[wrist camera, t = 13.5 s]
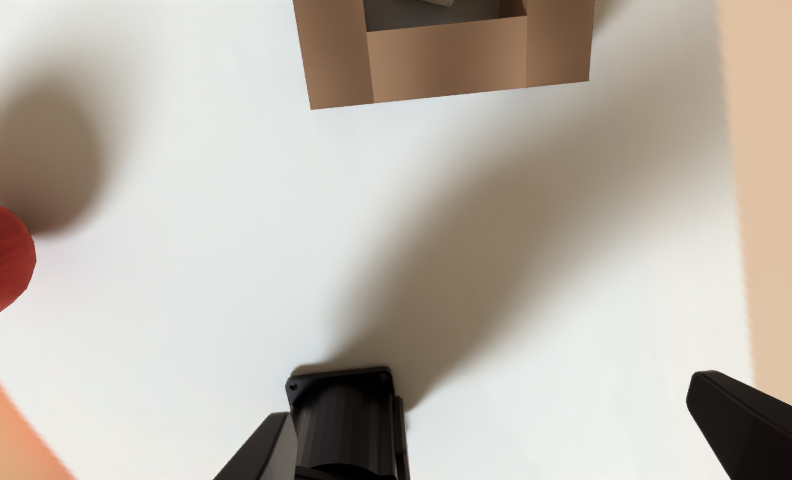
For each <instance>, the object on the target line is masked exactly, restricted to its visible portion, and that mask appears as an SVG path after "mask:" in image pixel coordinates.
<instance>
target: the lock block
mask: <svg viewBox="0 0 792 480" xmlns="http://www.w3.org/2000/svg"><path fill="white" fill-rule="evenodd" d="M594 2H595V0H500V19H491V20H481V21H471V22H461V23H451V24H442V25H432V26H422V27H412V28H403V29H393V30H383V31H373V32H367V25H366V16H365V7H364V0H293V5H294V11H295V17H296V23H297V29H298V35H299V41H300V47H301V53H302V59H303V65H304V71H305V77H306V83H307V90H308V96H309V102H310V108H311V110H314V109H324V108H333V107H343V106H353V105H362V104H372V103H382V102H391V101H401V100H411V99H420V98H430V97H440V96H449V95H459V94H469V93H478V92H488V91H498V90H507V89H517V88H527V87H536V86H546V85H556V84H565V83H575V82H585V81H589V69H590V55H591V42H592V29H593V15H594Z"/></svg>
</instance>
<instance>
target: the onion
mask: <svg viewBox="0 0 792 480" xmlns="http://www.w3.org/2000/svg"><path fill="white" fill-rule="evenodd" d="M35 264H36V253H35V245H34V241H33V239H32V238H31V236H30V234H29V232H28V229H27V227H26V225H25V224H24V223H23V222H22V221H21V220H20V219H19V218H18V217H17V216H16V215H15V214H14V213H12V212H11V211H9V210H7V209H6V208H4V207H2V206H0V312H1V311H2V310H4V309H5V308H6V307H8V306H9V305H10V304H12V303H13V302H14V301H15V300H16V299H17V298H18V297H19V296H20V295H21V294H22V293H23V292H24V291H25V290H26V289H27V287H28V284H29V282H30V280H31V277H32V274H33V271H34V267H35Z"/></svg>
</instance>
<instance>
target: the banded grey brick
mask: <svg viewBox="0 0 792 480" xmlns="http://www.w3.org/2000/svg"><path fill="white" fill-rule="evenodd" d="M422 1H427V2H431V3H435V4H440V5H444V6H448V7H449V6H450V5H451V4H452V2H453V1H454V0H422Z"/></svg>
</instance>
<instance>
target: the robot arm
mask: <svg viewBox="0 0 792 480" xmlns="http://www.w3.org/2000/svg"><path fill="white" fill-rule="evenodd" d="M382 374H386V375H387V376H381V375H382ZM291 384H296V385H297V386H293V385H291ZM285 389H286V393H287V397H288V401H289V405H290V412H276V413H271V414H270V415H269V416H268V417H267V418H266V419H265V420H264V421H263V422H262V424H261V425H260V426H259V427H258V428H257V429H256V430H255V432H254V433H253V434H252V435H251V436H250V437H249V439H248V440H247V441H246V442H245V443H244V444H243V445H242V447H241V448H240V449H239V450H238V451H237V452H236V454H235V455H234V456H233V457H232V458H231V459H230V461H229V462H228V463H227V464H226V465H225V466H224V467H223V469H222V470H221V471H220V472H219V473H218V474H217V476H216V477H215V478H214V479H213V480H410V470H409V458H408V446H407V434H406V424H405V415H404V406H403V399H402V398H401V397H400V396H395V392H394V384H393V375H392V371H391V369H390V368H388V367H384V366H383V367H374V368H364V369H355V370H346V371H336V372H327V373H318V374H309V375H299V376H292V377H290V378H288V380H287V382H286V385H285ZM686 404H687V407H688V410H689V412H690V414H691V415H692V417H693V419H694V420H695V422H696V424H697V425H698V427H699V429H700V430H701V432H702V433H703V435H704V437H705V438H706V440H707V442H708V443H709V445H710V447H711V448H712V450H713V452H714V453H715V455H716V457H717V458H718V460H719V462H720V463H721V465H722V467H723V468H724V470H725V471H726V473H727V474H728V476H729V478H730V479H731V480H792V406H791V405H789V404H787V403H785V402H782V401H780V400H778V399H776V398H774V397H772V396H770V395H767V394H765V393H763V392H761V391H759V390H757V389H755V388H753V387H751V386H748V385H746V384H744V383H742V382H740V381H738V380H736V379H733V378H731V377H729V376H727V375H725V374H723V373H721V372H718V371H715V370H708V371H698V372H695V373H694V374H693V375H692V378H691V381H690V385H689V389H688V393H687V397H686Z"/></svg>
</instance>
